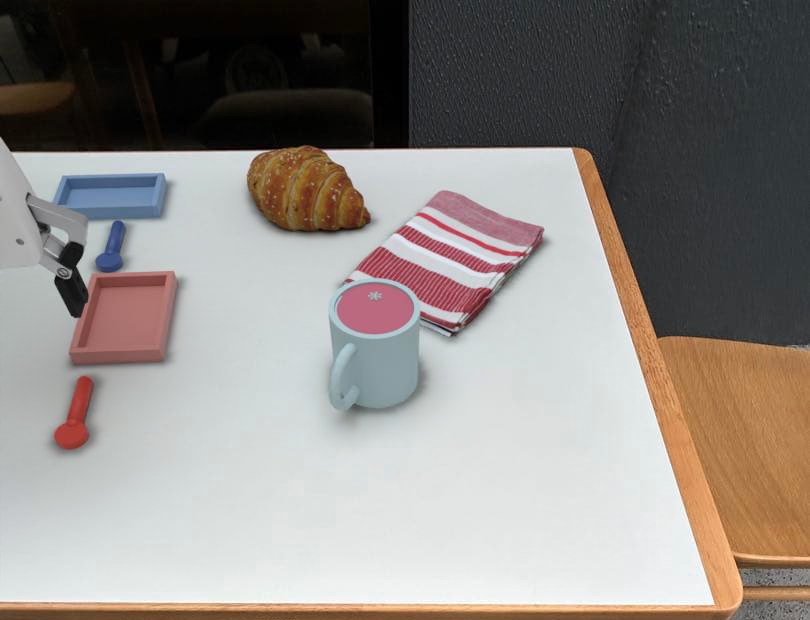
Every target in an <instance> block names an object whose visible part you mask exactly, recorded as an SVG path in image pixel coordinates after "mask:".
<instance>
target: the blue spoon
mask: <svg viewBox="0 0 810 620" xmlns="http://www.w3.org/2000/svg"><path fill="white" fill-rule="evenodd" d="M125 231H126V225H125V223H124V222H123V221H122V220H120V219H115V220H114V221H113V222H112V224H111V228H110V231H109V235H108V239H107V242H106V245H105V249H104V252H102V253H100V254H99V255H97V256H96V258H95V259H94V263H95V265H96V267H97V269H98V271H100V273H116V272H117V271H119V270H121V268H123V266H124V261H123V258H122V255H121V254H120V250H121V247H122V243H123V239H124V236H125Z"/></svg>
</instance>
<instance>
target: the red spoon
mask: <svg viewBox="0 0 810 620" xmlns="http://www.w3.org/2000/svg"><path fill="white" fill-rule="evenodd" d="M93 388H94V381H93V379H92V377H90V376H88V375H81V376H79V377H78V378H77V380H76V384H75V387H74V391H73V394H72V399H71V402H70V406H69V409H68V413H67V417H66V421H65V422H64V423H62V424H60V425H59V426H58V427H57V428H56V429H55V431H54V434H53V438H54V441H55V442H56V443H57V445H58V446H59V447H60V448H61V449H64V450H75V449H78V448H80V447H82V446H83V445H85V444H86V443H87V442H88V440H89V437H90V433H89V430H88V428H87V427H86V425H85V424H84V422H85V419H86V416H87V415H86V414H87V410H88V407H89V403H90V398H91V395H92V392H93V391H92V390H93Z"/></svg>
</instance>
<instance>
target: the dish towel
mask: <svg viewBox="0 0 810 620" xmlns="http://www.w3.org/2000/svg"><path fill="white" fill-rule="evenodd" d="M544 232H545V227H543V226H541V225H536V224H533V223H529V222H525V221H521V220H518V219H515V218H511V217H507V216H504V215H502V214H500V213H499V212H496V211H494V210H492V209H489V208H487V207H485V206H483V205H481V204H479V203H478V202H475V201H474V200H472V199H470V198H469V197H467V196H465V195H463V194H460V193H459V192H455V191H451V190H447V189H442V190H439V191H438V192H437V193H435V194H434V196H433V197H432V198H431V199H430V200H429V201H427V203H426V204H425V205H424V206H423V208H422V209H420V210H419V211H418V212H417V213H416V214H415V215H413V216H412V217H411V218H410V220H408V221H407V222H406V223H405V224H404V225H401V226H400V227H399V228H398V229H397V230H396V231H395V232H393V234H392V235H390V236H389V237H388V238H387V239H386V240H385V241H383V242H382V243H381V244H380V245H379V246H378V247H376V248H375V249H374V250H373V251H372V252H370V253H369V254H368V255H367V256H366V257H364V259H363V260H362V261H361V262H360V263H359V264H358V265H357V266H356V268H355V269H354V270H353V271H352V272H351V274H350V275H349V276H348V277H346V279H345V280H344V281H343V282H342V284H341V287H342V286H344V285H346V284H348V283H350V282H353V281H356V280H360V279H367V278H382V279H388V280H392V281H396V282H398V283H401V284H403V285H404V286H406V287H408V288H409V289H410V290H411V291H413V293H414V294H415V295H416V296H417V298H418V300H419V303H420V326H423V327H425V328H427V329H430V330H432V331H434V332H437V333H438V334H441V335H443V336H444V337H447V338H449V339H450V338H451V336H452V335H454V334H456V333H459V332H460V331H461V330H462V329H464V328H465V327H467V326H468V325H469V324H470V323H471V322H472V321H473V319H475V318H476V316H478V315H479V314H480V313H481V311H482V310H483V309H484V308H485V306H486V305H487V304H488V302H489V301H490V299H491V298H492V297H493V296H494V295H495V294H496V293H497V291H499V290H500V288H502V287H503V286H504V285H505V283H506V282H508V280H509V279H510V277H512V275H513V274H514V273H515V272H516V271H517V269H519V267H521V265H522V264H523V263H524V262H525V261H526V260H527V259H528V258H529V257H530V255H531V254H532V253H533V252H534V251H535V250H536V249H538V248H540V246H541V245H543V243H544V240H543V239H544V237H543V235H544Z"/></svg>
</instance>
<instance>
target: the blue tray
mask: <svg viewBox="0 0 810 620" xmlns="http://www.w3.org/2000/svg"><path fill="white" fill-rule="evenodd" d="M167 189H168V182H167V180H166V175H165V173H164V172H148V173H147V172H145V173H144V172H143V173H141V172H140V173H107V174H106V173H105V174H72V175H71V174H70V175H67V174H66V175H61V178H60V181H59V183H58V186H57V188H56V191H55V194H54V197H53V199H52V202H51V203H53V204H56V205H59V206H62V207H64V208H67V209H70V210H72V211H75V212H78V213H81V214H83V215H85V216H86V217H87V218H88V219H89V221H91V220H94V221H95V220H127V219H128V220H130V219H157V218H158V219H159V218H161V216H162V211H163V205H164V202H165V197H166V193H167Z"/></svg>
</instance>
